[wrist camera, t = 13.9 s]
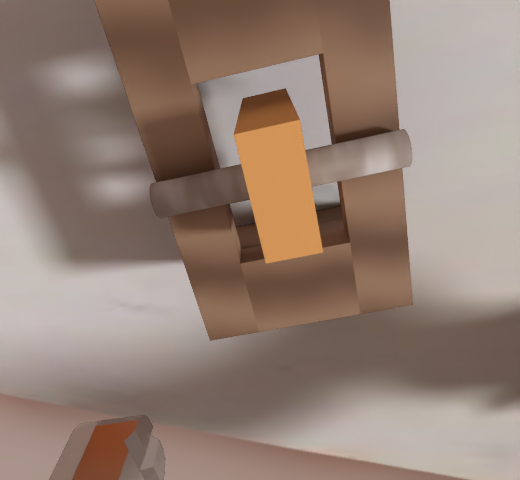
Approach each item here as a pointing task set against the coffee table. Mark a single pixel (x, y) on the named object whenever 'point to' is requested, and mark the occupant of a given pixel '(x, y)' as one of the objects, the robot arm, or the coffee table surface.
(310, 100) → the coffee table surface
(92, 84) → the coffee table surface
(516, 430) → the coffee table surface
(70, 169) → the coffee table surface
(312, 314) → the wooden table with hole
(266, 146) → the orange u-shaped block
